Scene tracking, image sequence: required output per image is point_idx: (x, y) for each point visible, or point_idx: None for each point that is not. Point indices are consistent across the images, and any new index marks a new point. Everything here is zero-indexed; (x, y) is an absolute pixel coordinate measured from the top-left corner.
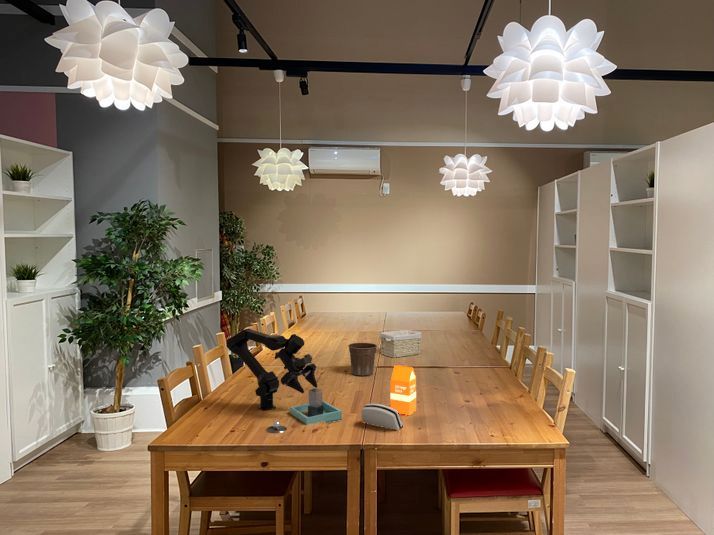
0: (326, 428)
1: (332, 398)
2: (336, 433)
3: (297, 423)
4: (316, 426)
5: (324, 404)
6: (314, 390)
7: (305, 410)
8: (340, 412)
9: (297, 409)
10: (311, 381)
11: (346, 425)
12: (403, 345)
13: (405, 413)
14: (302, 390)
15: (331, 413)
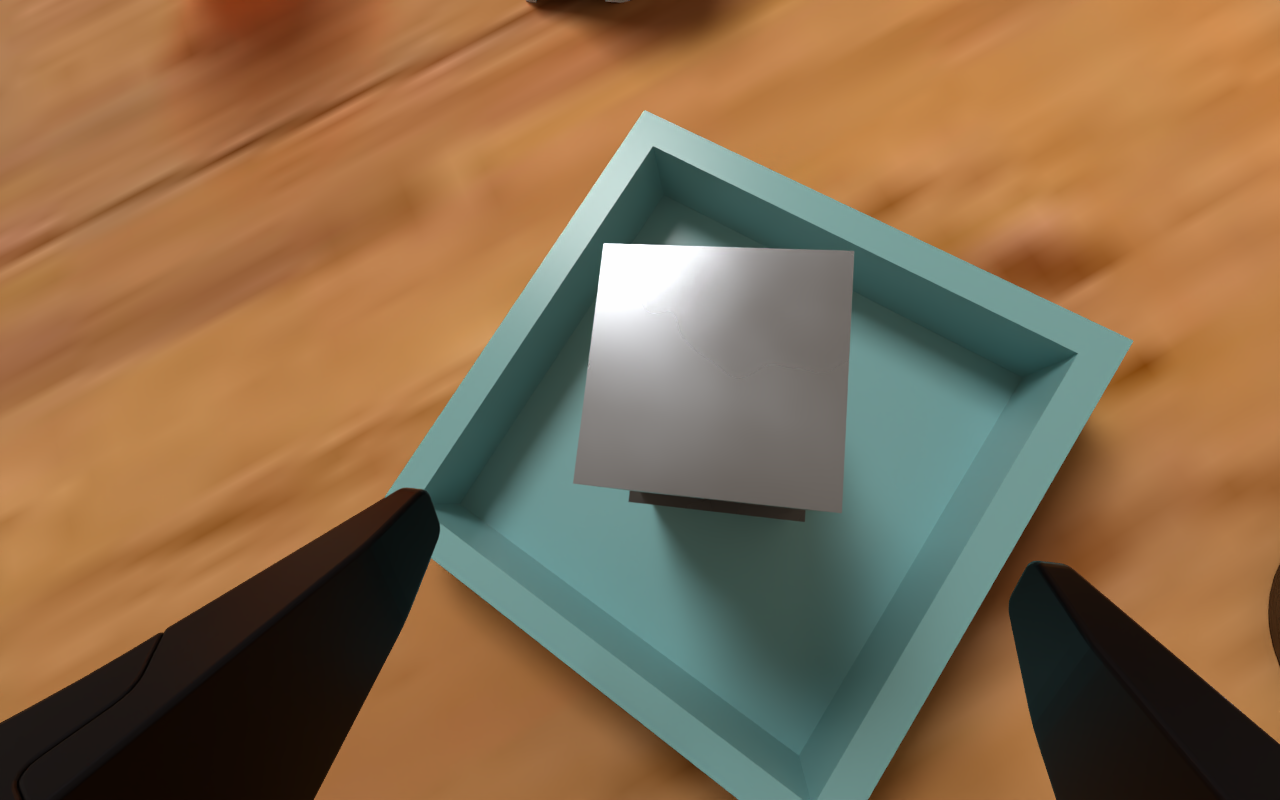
0: (929, 194)
1: (90, 599)
2: (997, 46)
3: None
4: None
5: (457, 456)
6: (750, 376)
7: (642, 645)
8: (662, 126)
9: (742, 735)
10: (292, 736)
11: (757, 78)
12: None
13: None
14: (1130, 620)
15: (769, 172)
